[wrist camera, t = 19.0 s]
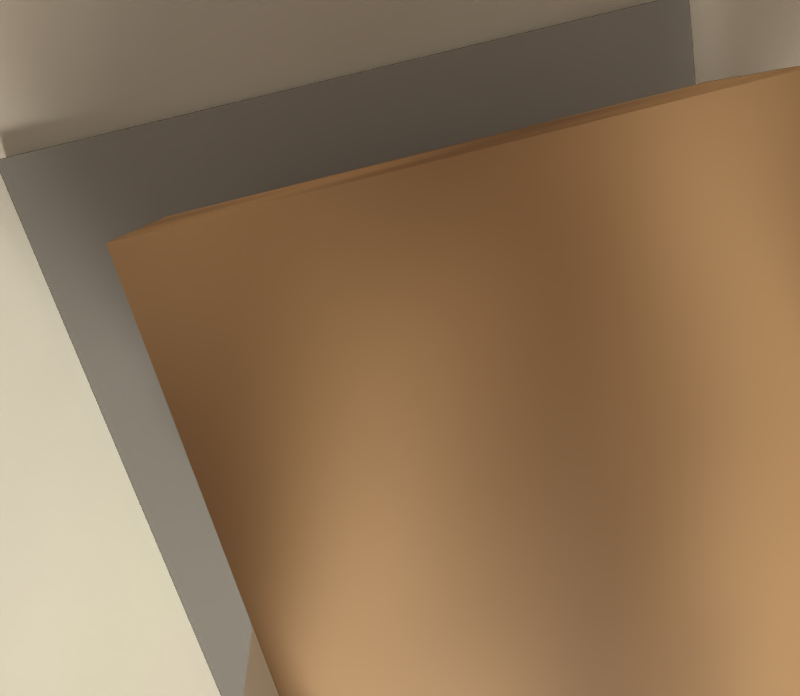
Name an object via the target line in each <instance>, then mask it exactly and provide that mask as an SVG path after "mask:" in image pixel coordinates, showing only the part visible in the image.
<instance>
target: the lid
mask: <svg viewBox="0 0 800 696" xmlns="http://www.w3.org/2000/svg"><path fill="white" fill-rule="evenodd" d="M106 245H107V248H108V250H109V253H110V256H111V258H112V261H113V263H114V266H115V269H116V271H117V274H118V276H119V279H120V282H121V284H122V287H123V290H124V292H125V295H126V297H127V300H128V303H129V305H130V308H131V310H132V313H133V316H134V318H135V321H136V323H137V326H138V329H139V331H140V334H141V337H142V339H143V342H144V344H145V347H146V350H147V352H148V355H149V357H150V360H151V363H152V365H153V368H154V371H155V373H156V376H157V378H158V381H159V384H160V386H161V389H162V391H163V394H164V397H165V399H166V402H167V404H168V407H169V410H170V412H171V415H172V418H173V420H174V423H175V425H176V428H177V431H178V433H179V436H180V438H181V441H182V444H183V446H184V449H185V452H186V454H187V457H188V459H189V462H190V465H191V467H192V470H193V472H194V475H195V478H196V480H197V483H198V485H199V488H200V491H201V493H202V496H203V499H204V501H205V504H206V506H207V509H208V512H209V514H210V517H211V519H212V522H213V525H214V527H215V530H216V533H217V535H218V538H219V540H220V543H221V546H222V548H223V551H224V553H225V556H226V559H227V561H228V564H229V566H230V569H231V572H232V574H233V577H234V580H235V582H236V585H237V587H238V590H239V593H240V595H241V598H242V600H243V603H244V606H245V608H246V611H247V614H248V616H249V619H250V621H251V624H252V627H253V629H254V632H255V634H256V637H257V640H258V642H259V645H260V647H261V650H262V653H263V655H264V658H265V661H266V663H267V666H268V668H269V671H270V674H271V676H272V679H273V681H274V684H275V687H276V689H277V692H278V695H279V696H800V66H796V67H790V68H784V69H779V70H773V71H767V72H761V73H755V74H750V75H744V76H738V77H732V78H727V79H721V80H715V81H709V82H705V83H701V84H697V85H693V86H689V87H685V88H681V89H677V90H673V91H669V92H664V93H660V94H656V95H652V96H648V97H644V98H640V99H636V100H632V101H628V102H624V103H620V104H616V105H612V106H608V107H604V108H600V109H596V110H592V111H588V112H584V113H580V114H576V115H572V116H568V117H564V118H560V119H556V120H552V121H548V122H544V123H540V124H536V125H532V126H528V127H524V128H520V129H516V130H512V131H508V132H504V133H500V134H496V135H492V136H488V137H484V138H480V139H476V140H472V141H468V142H464V143H460V144H456V145H452V146H448V147H444V148H440V149H436V150H432V151H427V152H423V153H419V154H415V155H411V156H407V157H403V158H399V159H395V160H391V161H387V162H383V163H379V164H375V165H371V166H367V167H363V168H359V169H355V170H351V171H347V172H343V173H339V174H335V175H331V176H327V177H323V178H319V179H315V180H311V181H307V182H303V183H299V184H295V185H291V186H287V187H283V188H279V189H275V190H271V191H267V192H263V193H259V194H255V195H251V196H247V197H243V198H239V199H235V200H231V201H227V202H223V203H219V204H215V205H211V206H207V207H203V208H199V209H195V210H190V211H186V212H182V213H178V214H174V215H170V216H166V217H164V218H161V219H159V220H157V221H155V222H152V223H150V224H148V225H146V226H143V227H141V228H139V229H137V230H135V231H132V232H130V233H128V234H126V235H123V236H121V237H119V238H117V239H114V240H112V241H110V242H108V243H106Z"/></svg>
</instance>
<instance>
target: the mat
mask: <svg viewBox="0 0 800 696" xmlns="http://www.w3.org/2000/svg"><path fill="white" fill-rule="evenodd" d="M693 85H696V84H695V71H694V58H693V45H692V31H691V18H690V5H689V0H658V1H654V2H650V3H646V4H642V5H637V6H633V7H629V8H625V9H621V10H617V11H613V12H608V13H604V14H600V15H596V16H592V17H588V18H584V19H579V20H575V21H571V22H567V23H563V24H559V25H555V26H550V27H546V28H542V29H538V30H534V31H530V32H525V33H521V34H517V35H513V36H509V37H505V38H501V39H496V40H492V41H488V42H484V43H480V44H476V45H472V46H467V47H463V48H459V49H455V50H451V51H447V52H443V53H438V54H434V55H430V56H426V57H422V58H418V59H414V60H409V61H405V62H401V63H397V64H393V65H389V66H384V67H380V68H376V69H372V70H368V71H364V72H360V73H355V74H351V75H347V76H343V77H339V78H335V79H331V80H326V81H322V82H318V83H314V84H310V85H306V86H302V87H297V88H293V89H289V90H285V91H281V92H277V93H272V94H268V95H264V96H260V97H256V98H252V99H248V100H243V101H239V102H235V103H231V104H227V105H223V106H219V107H214V108H210V109H206V110H202V111H198V112H194V113H190V114H185V115H181V116H177V117H173V118H169V119H165V120H160V121H156V122H152V123H148V124H144V125H140V126H136V127H131V128H127V129H123V130H119V131H115V132H111V133H107V134H102V135H98V136H94V137H90V138H86V139H82V140H78V141H73V142H69V143H65V144H61V145H57V146H53V147H48V148H44V149H40V150H36V151H32V152H28V153H24V154H19V155H15V156H11V157H7V158H3V159H0V173H1V176H2V178H3V180H4V183H5V185H6V187H7V190H8V192H9V195H10V197H11V199H12V202H13V204H14V206H15V209H16V211H17V214H18V216H19V218H20V221H21V223H22V225H23V228H24V230H25V232H26V235H27V237H28V240H29V242H30V244H31V247H32V249H33V251H34V254H35V256H36V259H37V261H38V263H39V266H40V268H41V270H42V273H43V275H44V277H45V280H46V282H47V285H48V287H49V289H50V292H51V294H52V296H53V299H54V301H55V304H56V306H57V308H58V311H59V313H60V315H61V318H62V320H63V323H64V325H65V327H66V330H67V332H68V334H69V337H70V339H71V341H72V344H73V346H74V349H75V351H76V353H77V356H78V358H79V360H80V363H81V365H82V368H83V370H84V372H85V375H86V377H87V379H88V382H89V384H90V387H91V389H92V391H93V394H94V396H95V398H96V401H97V403H98V405H99V408H100V410H101V413H102V415H103V417H104V420H105V422H106V424H107V427H108V429H109V432H110V434H111V436H112V439H113V441H114V443H115V446H116V448H117V451H118V453H119V455H120V458H121V460H122V462H123V465H124V467H125V469H126V472H127V474H128V477H129V479H130V481H131V484H132V486H133V488H134V491H135V493H136V496H137V498H138V500H139V503H140V505H141V507H142V510H143V512H144V514H145V517H146V519H147V522H148V524H149V526H150V529H151V531H152V533H153V536H154V538H155V541H156V543H157V545H158V548H159V550H160V552H161V555H162V557H163V560H164V562H165V564H166V567H167V569H168V571H169V574H170V576H171V578H172V581H173V583H174V586H175V588H176V590H177V593H178V595H179V597H180V600H181V602H182V605H183V607H184V609H185V612H186V614H187V616H188V619H189V621H190V624H191V626H192V628H193V631H194V633H195V635H196V638H197V640H198V642H199V645H200V647H201V650H202V652H203V654H204V657H205V659H206V661H207V664H208V666H209V669H210V671H211V673H212V676H213V678H214V680H215V683H216V685H217V688H218V690H219V692H220V695H221V696H244V688H245V680H246V672H247V664H248V657H249V649H250V641H251V633H252V624H251V621H250V619H249V616H248V614H247V611H246V608H245V606H244V603H243V600H242V598H241V595H240V593H239V590H238V587H237V585H236V582H235V580H234V577H233V574H232V572H231V569H230V566H229V564H228V561H227V559H226V556H225V553H224V551H223V548H222V546H221V543H220V540H219V538H218V535H217V533H216V530H215V527H214V525H213V522H212V519H211V517H210V514H209V512H208V509H207V506H206V504H205V501H204V499H203V496H202V493H201V491H200V488H199V485H198V483H197V480H196V478H195V475H194V472H193V470H192V467H191V465H190V462H189V459H188V457H187V454H186V452H185V449H184V446H183V444H182V441H181V438H180V436H179V433H178V431H177V428H176V425H175V423H174V420H173V418H172V415H171V412H170V410H169V407H168V404H167V402H166V399H165V397H164V394H163V391H162V389H161V386H160V384H159V381H158V378H157V376H156V373H155V371H154V368H153V365H152V363H151V360H150V357H149V355H148V352H147V350H146V347H145V344H144V342H143V339H142V337H141V334H140V331H139V329H138V326H137V323H136V321H135V318H134V316H133V313H132V310H131V308H130V305H129V303H128V300H127V297H126V295H125V292H124V290H123V287H122V284H121V282H120V279H119V276H118V274H117V271H116V269H115V266H114V263H113V261H112V258H111V256H110V253H109V250H108V248H107V245H106V243H108V242H110V241H112V240H114V239H117V238H119V237H121V236H123V235H126V234H128V233H130V232H132V231H135V230H137V229H139V228H141V227H143V226H146V225H148V224H150V223H152V222H155V221H157V220H159V219H161V218H164V217H166V216H170V215H174V214H178V213H182V212H186V211H190V210H195V209H199V208H203V207H207V206H211V205H215V204H219V203H223V202H227V201H231V200H235V199H239V198H243V197H247V196H251V195H255V194H259V193H263V192H267V191H271V190H275V189H279V188H283V187H287V186H291V185H295V184H299V183H303V182H307V181H311V180H315V179H319V178H323V177H327V176H331V175H335V174H339V173H343V172H347V171H351V170H355V169H359V168H363V167H367V166H371V165H375V164H379V163H383V162H387V161H391V160H395V159H399V158H403V157H407V156H411V155H415V154H419V153H423V152H427V151H432V150H436V149H440V148H444V147H448V146H452V145H456V144H460V143H464V142H468V141H472V140H476V139H480V138H484V137H488V136H492V135H496V134H500V133H504V132H508V131H512V130H516V129H520V128H524V127H528V126H532V125H536V124H540V123H544V122H548V121H552V120H556V119H560V118H564V117H568V116H572V115H576V114H580V113H584V112H588V111H592V110H596V109H600V108H604V107H608V106H612V105H616V104H620V103H624V102H628V101H632V100H636V99H640V98H644V97H648V96H652V95H656V94H660V93H664V92H669V91H673V90H677V89H681V88H685V87H689V86H693Z"/></svg>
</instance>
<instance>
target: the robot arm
mask: <svg viewBox="0 0 800 696" xmlns="http://www.w3.org/2000/svg"><path fill="white" fill-rule="evenodd" d="M244 696H279V695H278V692H277V689H276V687H275V684H274V681H273V679H272V676H271V674H270V671H269V668H268V666H267V663H266V661H265V658H264V655H263V653H262V650H261V647H260V645H259V642H258V640H257V637H256V634H255V632H254V629H253V627H252V633H251V641H250V649H249V657H248V664H247V672H246V680H245V688H244Z"/></svg>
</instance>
